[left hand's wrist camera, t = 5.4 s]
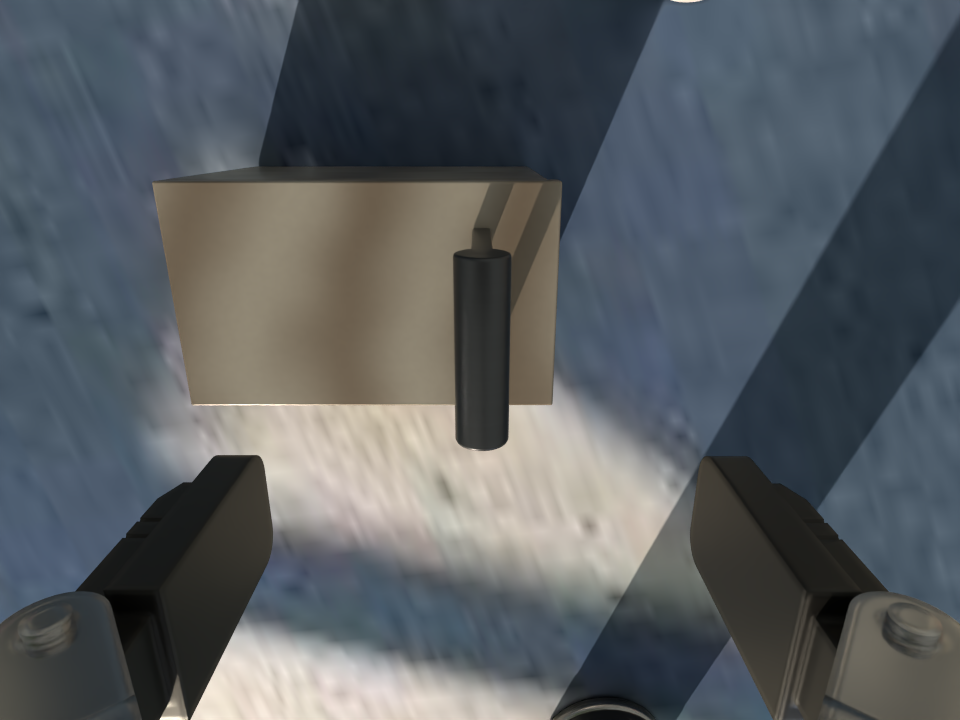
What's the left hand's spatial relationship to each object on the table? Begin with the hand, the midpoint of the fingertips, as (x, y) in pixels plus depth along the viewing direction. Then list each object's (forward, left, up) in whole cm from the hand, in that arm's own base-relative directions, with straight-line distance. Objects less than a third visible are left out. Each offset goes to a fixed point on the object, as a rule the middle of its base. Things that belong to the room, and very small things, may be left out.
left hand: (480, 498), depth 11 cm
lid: (-3, +3, -15) cm, 16 cm away
